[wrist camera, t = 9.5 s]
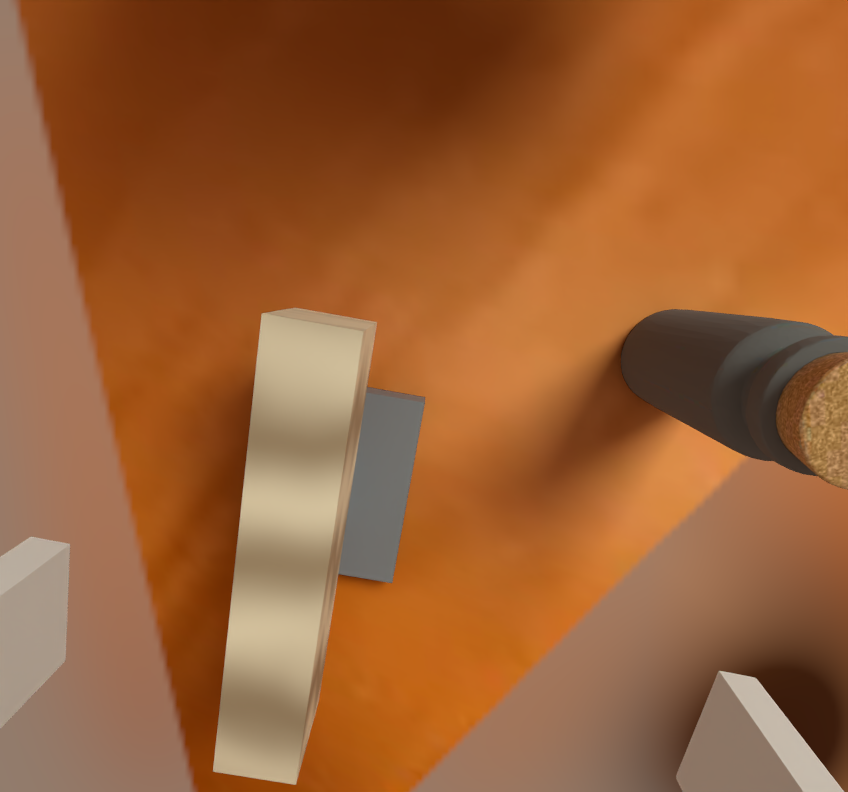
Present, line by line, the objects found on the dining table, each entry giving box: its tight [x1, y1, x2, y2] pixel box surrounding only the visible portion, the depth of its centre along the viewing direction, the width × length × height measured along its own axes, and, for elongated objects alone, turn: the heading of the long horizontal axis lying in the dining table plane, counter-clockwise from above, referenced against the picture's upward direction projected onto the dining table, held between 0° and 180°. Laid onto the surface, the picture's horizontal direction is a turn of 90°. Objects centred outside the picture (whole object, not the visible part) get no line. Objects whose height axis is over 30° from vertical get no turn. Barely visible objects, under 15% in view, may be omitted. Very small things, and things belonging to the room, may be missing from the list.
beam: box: [213, 308, 377, 785], centre depth 25 cm, size 22×4×5 cm, turn 170°
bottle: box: [621, 309, 848, 489], centre depth 24 cm, size 6×6×15 cm
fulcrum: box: [338, 387, 425, 583], centre depth 30 cm, size 12×10×6 cm
